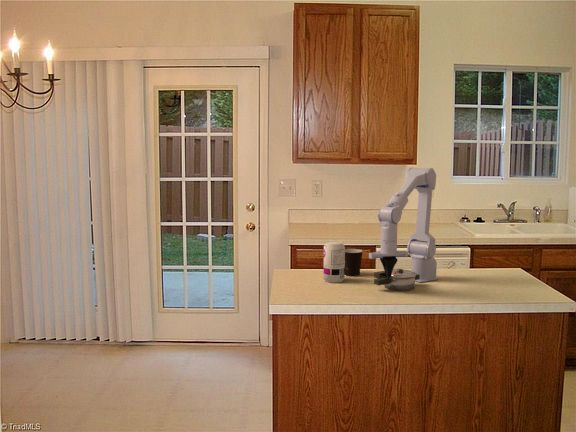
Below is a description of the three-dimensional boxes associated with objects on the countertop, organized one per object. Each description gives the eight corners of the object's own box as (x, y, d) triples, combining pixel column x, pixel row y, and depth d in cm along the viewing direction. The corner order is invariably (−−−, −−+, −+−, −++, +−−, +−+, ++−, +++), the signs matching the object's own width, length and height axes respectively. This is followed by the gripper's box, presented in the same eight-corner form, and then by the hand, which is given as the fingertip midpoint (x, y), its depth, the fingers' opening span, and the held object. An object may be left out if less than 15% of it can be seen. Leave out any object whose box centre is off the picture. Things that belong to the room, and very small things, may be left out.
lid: (401, 269, 205) (401, 264, 204) (422, 276, 195) (422, 270, 194) (366, 274, 197) (366, 269, 196) (386, 281, 186) (387, 276, 186)
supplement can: (320, 282, 205) (320, 243, 203) (327, 277, 212) (327, 240, 211) (340, 284, 202) (341, 245, 200) (346, 279, 209) (347, 241, 208)
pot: (406, 281, 206) (406, 270, 206) (426, 287, 197) (427, 276, 196) (366, 287, 197) (367, 275, 196) (385, 294, 187) (386, 282, 187)
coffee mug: (361, 277, 212) (362, 253, 211) (340, 276, 214) (340, 252, 213) (363, 271, 223) (363, 247, 222) (342, 270, 225) (343, 247, 224)
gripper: (401, 237, 195) (400, 273, 197) (365, 239, 191) (364, 276, 192) (411, 240, 188) (410, 277, 190) (374, 242, 184) (373, 280, 186)
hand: (388, 277), depth 191 cm, fingers closed, pressing on lid
